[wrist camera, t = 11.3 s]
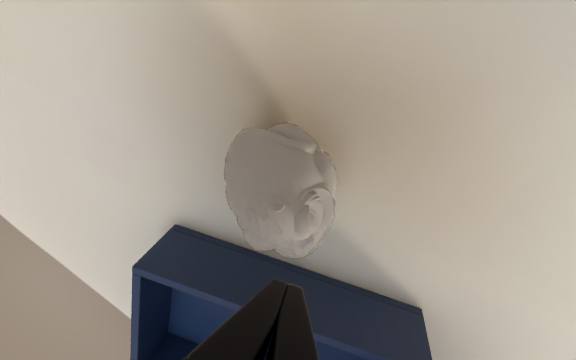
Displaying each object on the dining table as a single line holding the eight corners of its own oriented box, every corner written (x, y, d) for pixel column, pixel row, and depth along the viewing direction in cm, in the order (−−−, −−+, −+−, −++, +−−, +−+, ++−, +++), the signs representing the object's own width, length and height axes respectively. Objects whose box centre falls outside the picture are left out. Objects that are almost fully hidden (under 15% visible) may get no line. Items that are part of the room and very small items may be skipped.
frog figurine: (278, 220, 22) (245, 290, 16) (227, 131, 21) (167, 172, 14) (360, 190, 20) (358, 258, 14) (311, 88, 18) (283, 114, 12)
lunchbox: (165, 328, 30) (129, 380, 26) (175, 223, 25) (131, 266, 20) (364, 404, 28) (364, 474, 24) (421, 309, 23) (436, 376, 18)
